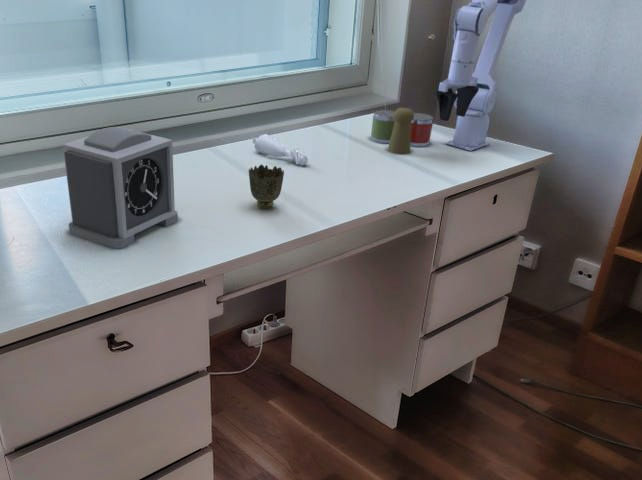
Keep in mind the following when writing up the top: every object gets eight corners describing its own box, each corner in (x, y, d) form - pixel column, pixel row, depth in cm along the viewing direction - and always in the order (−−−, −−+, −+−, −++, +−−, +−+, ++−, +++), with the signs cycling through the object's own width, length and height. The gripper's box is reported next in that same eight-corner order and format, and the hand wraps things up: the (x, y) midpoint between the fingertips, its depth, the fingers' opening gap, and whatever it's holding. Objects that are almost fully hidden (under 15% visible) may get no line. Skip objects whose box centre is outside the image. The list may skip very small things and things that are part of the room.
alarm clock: (118, 250, 126) (109, 150, 116) (66, 232, 132) (53, 135, 121) (180, 219, 139) (177, 127, 129) (131, 204, 145) (124, 115, 135)
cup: (286, 203, 149) (288, 167, 145) (275, 215, 143) (277, 177, 139) (254, 198, 151) (255, 162, 147) (242, 209, 145) (243, 172, 141)
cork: (411, 154, 183) (418, 112, 177) (389, 153, 183) (394, 111, 177) (408, 147, 188) (414, 106, 182) (386, 146, 188) (392, 105, 182)
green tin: (392, 135, 198) (395, 110, 194) (400, 143, 191) (404, 117, 187) (367, 135, 196) (370, 110, 192) (374, 143, 190) (378, 117, 186)
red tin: (406, 137, 197) (410, 111, 193) (432, 141, 194) (436, 115, 190) (399, 143, 191) (403, 117, 187) (425, 148, 189) (429, 121, 185)
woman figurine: (272, 127, 182) (323, 148, 173) (271, 144, 185) (320, 165, 175) (240, 135, 175) (291, 157, 165) (239, 152, 178) (289, 175, 168)
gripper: (460, 66, 162) (449, 125, 169) (492, 61, 171) (480, 117, 178) (435, 61, 166) (426, 119, 174) (468, 56, 175) (457, 111, 182)
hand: (452, 117), depth 176 cm, fingers open, 7 cm apart
